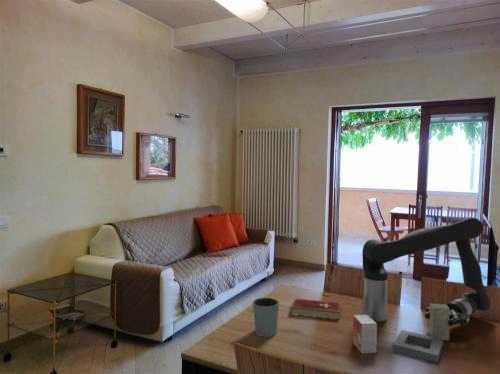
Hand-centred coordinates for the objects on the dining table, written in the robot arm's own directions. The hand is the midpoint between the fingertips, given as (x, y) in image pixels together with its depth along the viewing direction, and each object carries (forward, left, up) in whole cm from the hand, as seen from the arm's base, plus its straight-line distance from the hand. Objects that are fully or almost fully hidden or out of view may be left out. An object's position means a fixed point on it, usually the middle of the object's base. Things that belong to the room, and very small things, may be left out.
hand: (437, 319), depth 136 cm
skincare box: (0, +1, -7) cm, 7 cm away
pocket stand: (-5, -13, -7) cm, 15 cm away
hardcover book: (-48, -1, -8) cm, 49 cm away
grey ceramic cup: (-57, -31, -7) cm, 65 cm away
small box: (-21, -23, -7) cm, 32 cm away
